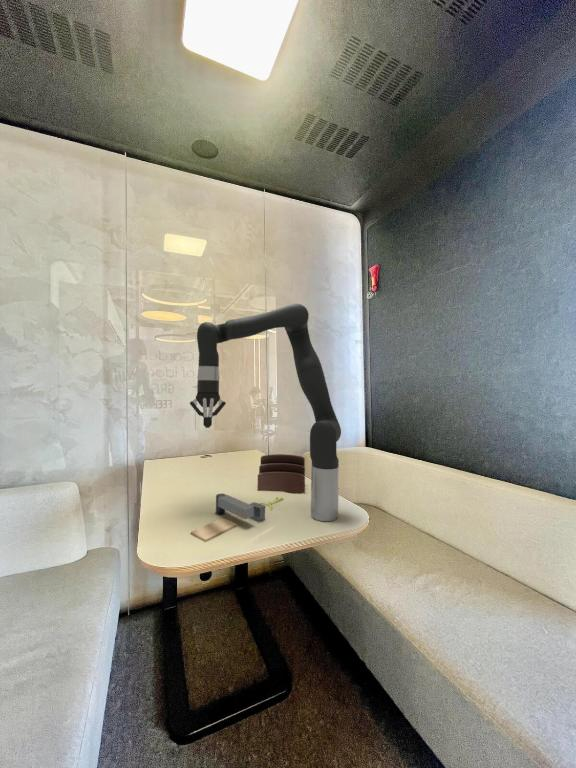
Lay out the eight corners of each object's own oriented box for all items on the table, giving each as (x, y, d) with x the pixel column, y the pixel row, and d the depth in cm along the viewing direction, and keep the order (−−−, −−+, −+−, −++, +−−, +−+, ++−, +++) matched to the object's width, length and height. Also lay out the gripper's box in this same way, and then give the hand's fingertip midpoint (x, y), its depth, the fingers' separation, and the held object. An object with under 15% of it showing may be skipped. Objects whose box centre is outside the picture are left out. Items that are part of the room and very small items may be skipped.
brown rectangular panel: (222, 521, 97) (222, 517, 97) (237, 528, 93) (237, 524, 93) (190, 535, 88) (190, 531, 88) (205, 543, 83) (205, 539, 83)
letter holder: (260, 484, 134) (260, 453, 134) (304, 486, 133) (304, 454, 133) (257, 492, 124) (257, 458, 124) (304, 494, 123) (305, 460, 123)
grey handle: (213, 512, 102) (213, 495, 102) (221, 509, 105) (222, 492, 105) (244, 529, 91) (245, 509, 91) (253, 525, 94) (253, 506, 94)
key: (283, 501, 116) (283, 496, 116) (269, 514, 104) (269, 508, 104) (267, 499, 118) (267, 493, 118) (251, 511, 107) (251, 505, 107)
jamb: (226, 505, 109) (226, 492, 109) (264, 521, 98) (265, 505, 98) (203, 515, 101) (203, 500, 101) (242, 532, 90) (243, 516, 90)
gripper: (226, 379, 113) (225, 425, 113) (189, 378, 109) (188, 426, 109) (228, 379, 106) (227, 428, 106) (189, 378, 102) (187, 429, 102)
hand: (207, 427), depth 107 cm, fingers closed
